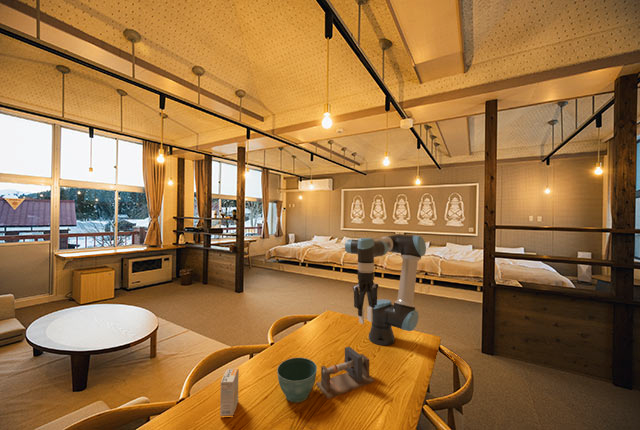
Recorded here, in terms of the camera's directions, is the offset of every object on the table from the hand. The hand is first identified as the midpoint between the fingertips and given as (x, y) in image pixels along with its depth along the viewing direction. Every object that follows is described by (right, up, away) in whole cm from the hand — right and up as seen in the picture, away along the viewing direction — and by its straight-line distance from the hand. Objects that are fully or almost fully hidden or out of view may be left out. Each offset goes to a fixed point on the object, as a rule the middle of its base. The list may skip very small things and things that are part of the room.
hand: (365, 321), depth 116 cm
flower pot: (-31, -24, -13) cm, 41 cm away
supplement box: (-55, -24, -22) cm, 64 cm away
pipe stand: (-10, -24, -6) cm, 27 cm away
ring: (-6, -22, -4) cm, 23 cm away
